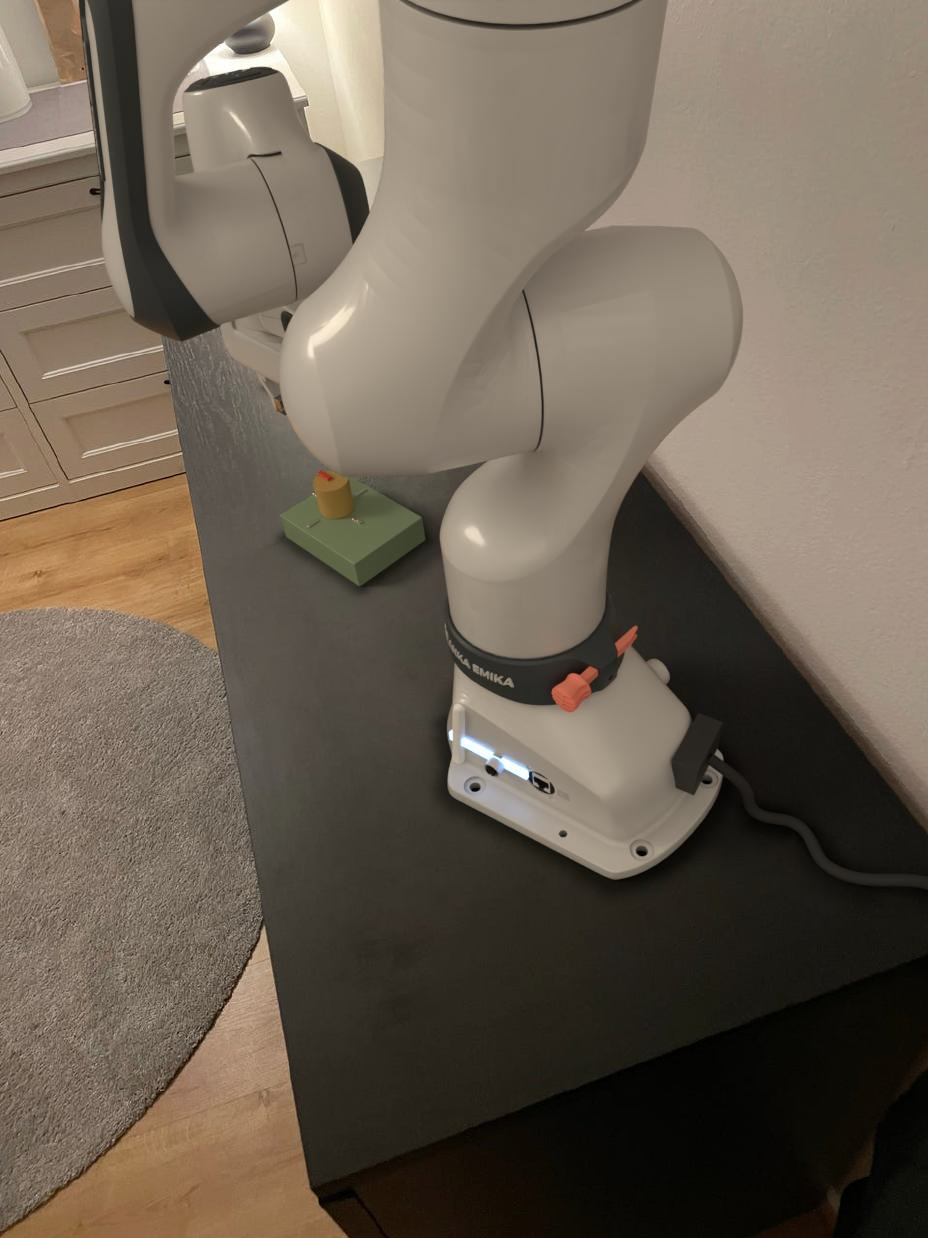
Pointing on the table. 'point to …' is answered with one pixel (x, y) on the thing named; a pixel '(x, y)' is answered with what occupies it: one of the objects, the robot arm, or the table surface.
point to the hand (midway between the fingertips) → (316, 427)
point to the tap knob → (333, 494)
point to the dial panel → (356, 533)
